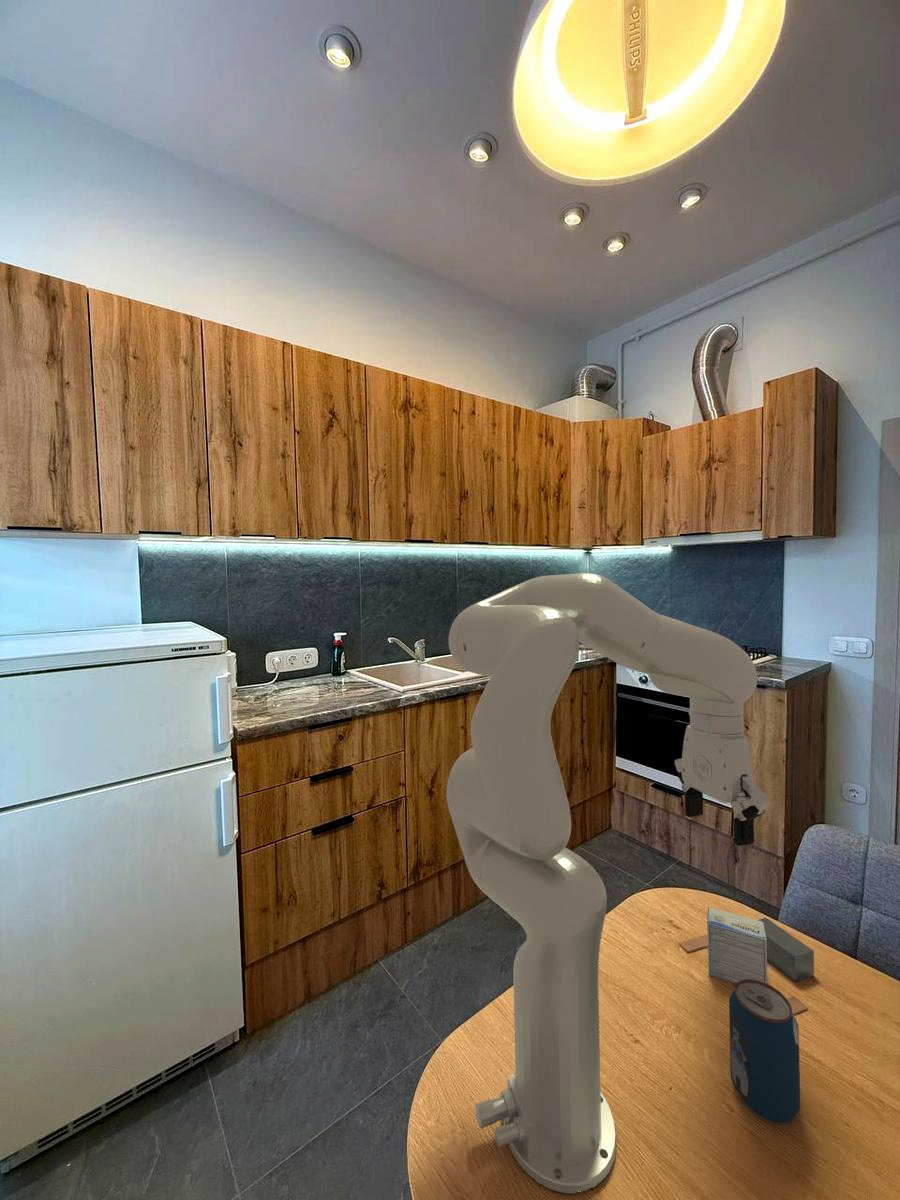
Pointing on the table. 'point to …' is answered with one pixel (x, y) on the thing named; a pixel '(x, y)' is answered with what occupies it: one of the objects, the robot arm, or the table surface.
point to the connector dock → (776, 956)
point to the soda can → (764, 1051)
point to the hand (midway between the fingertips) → (717, 828)
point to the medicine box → (736, 947)
